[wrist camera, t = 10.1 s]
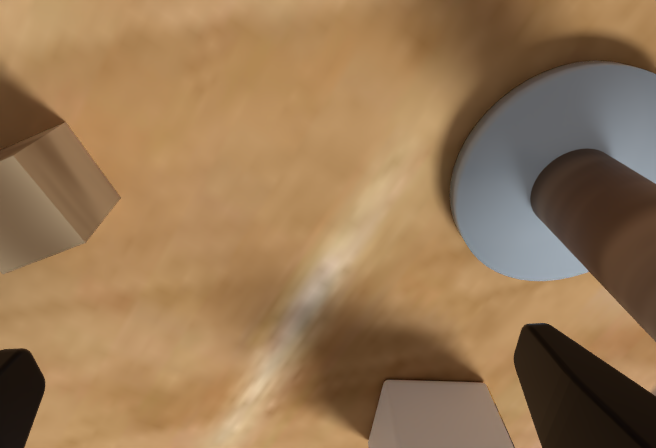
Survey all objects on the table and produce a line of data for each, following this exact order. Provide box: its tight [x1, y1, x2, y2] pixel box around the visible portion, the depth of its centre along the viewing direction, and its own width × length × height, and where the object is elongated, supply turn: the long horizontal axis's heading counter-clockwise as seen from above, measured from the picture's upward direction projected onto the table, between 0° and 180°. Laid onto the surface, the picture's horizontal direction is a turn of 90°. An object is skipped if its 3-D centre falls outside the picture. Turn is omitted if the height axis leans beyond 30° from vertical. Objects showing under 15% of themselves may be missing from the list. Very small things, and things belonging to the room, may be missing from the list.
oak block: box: [0, 122, 121, 274], centre depth 18 cm, size 4×4×4 cm
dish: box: [450, 60, 656, 281], centre depth 20 cm, size 11×11×1 cm
